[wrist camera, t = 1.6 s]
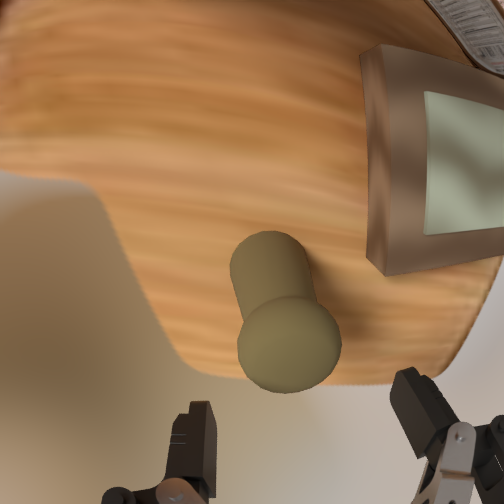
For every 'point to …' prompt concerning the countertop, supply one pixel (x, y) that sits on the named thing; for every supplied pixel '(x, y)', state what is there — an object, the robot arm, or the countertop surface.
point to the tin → (476, 30)
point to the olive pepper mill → (281, 316)
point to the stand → (432, 161)
